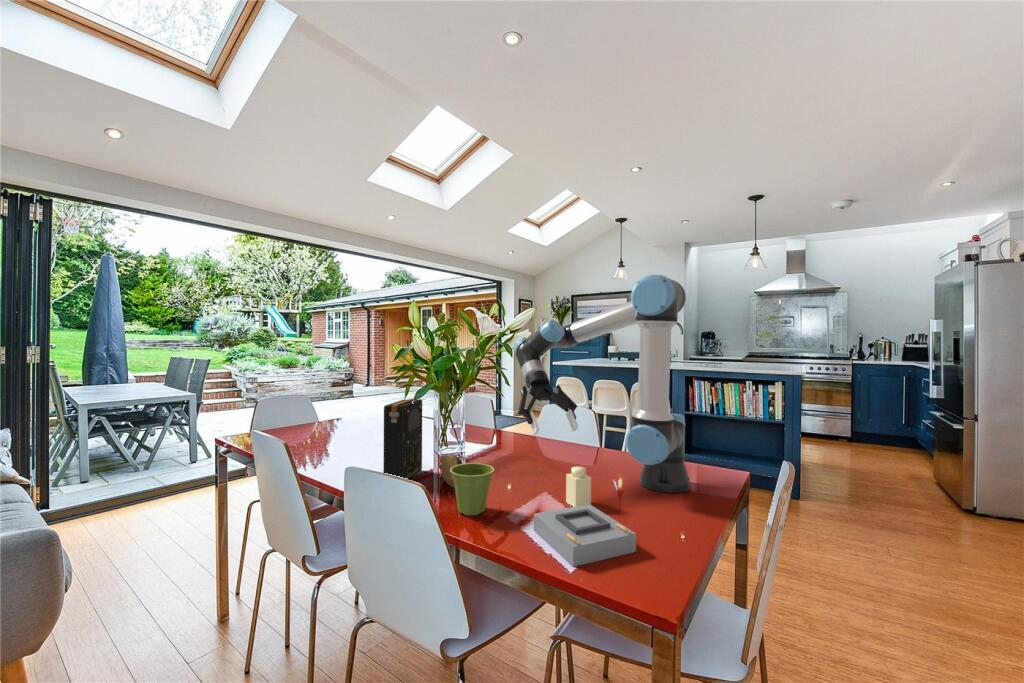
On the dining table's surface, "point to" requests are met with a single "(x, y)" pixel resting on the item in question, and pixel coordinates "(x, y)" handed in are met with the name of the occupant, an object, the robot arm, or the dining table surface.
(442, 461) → the wooden carving
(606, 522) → the ball-topped post base
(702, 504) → the dining table surface
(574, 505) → the dome-topped cream pillar
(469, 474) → the plant pot
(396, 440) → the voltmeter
